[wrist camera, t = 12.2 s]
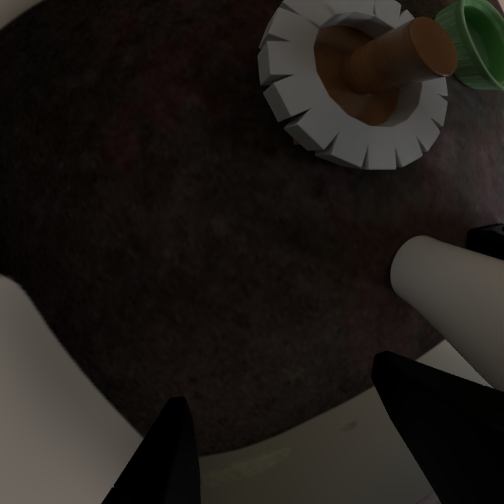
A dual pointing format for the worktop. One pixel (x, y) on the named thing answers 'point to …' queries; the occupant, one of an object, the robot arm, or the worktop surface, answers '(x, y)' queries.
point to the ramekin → (476, 42)
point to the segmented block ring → (324, 107)
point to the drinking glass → (456, 299)
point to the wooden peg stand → (380, 65)
